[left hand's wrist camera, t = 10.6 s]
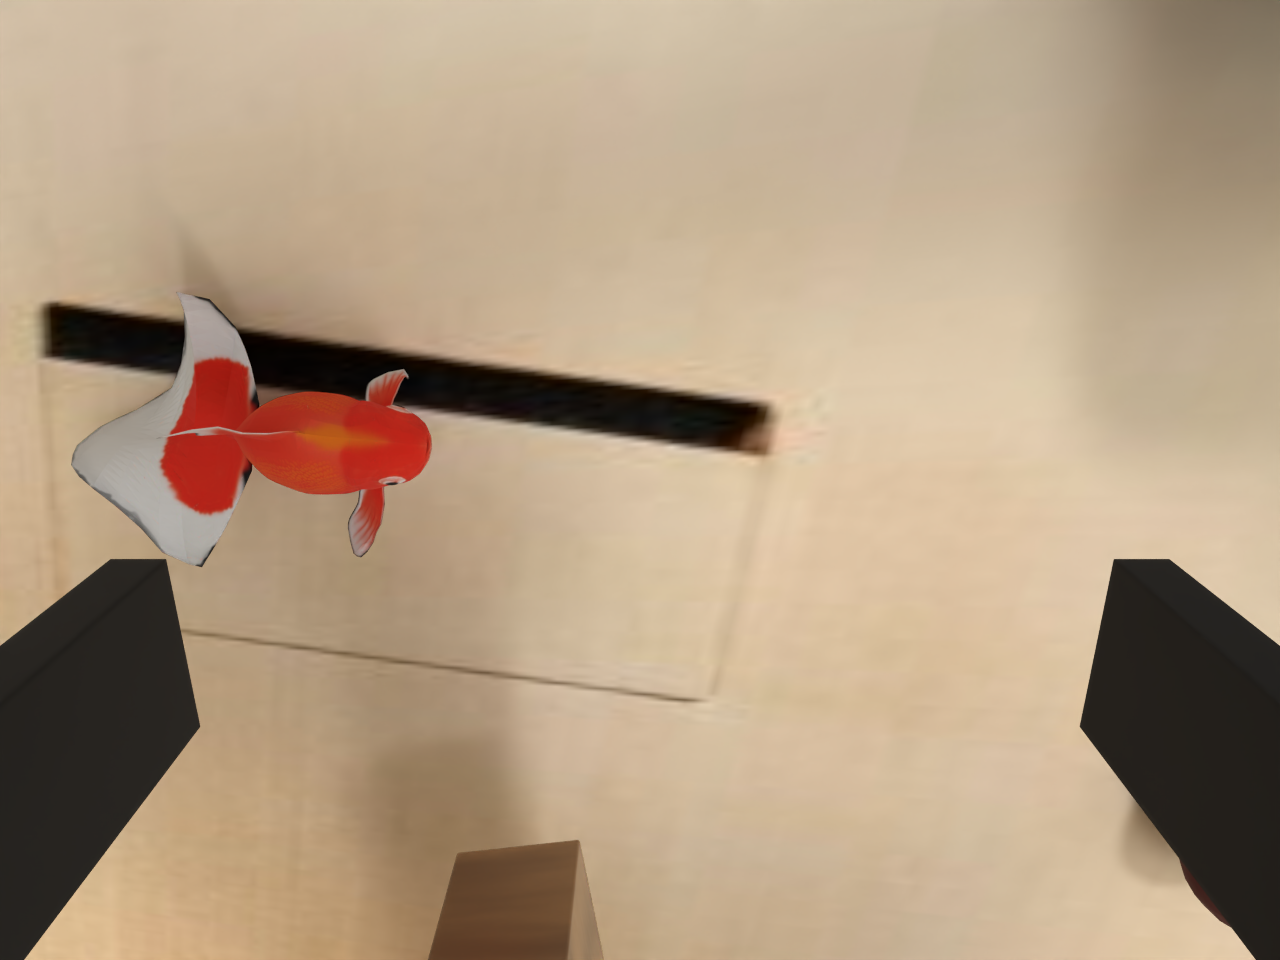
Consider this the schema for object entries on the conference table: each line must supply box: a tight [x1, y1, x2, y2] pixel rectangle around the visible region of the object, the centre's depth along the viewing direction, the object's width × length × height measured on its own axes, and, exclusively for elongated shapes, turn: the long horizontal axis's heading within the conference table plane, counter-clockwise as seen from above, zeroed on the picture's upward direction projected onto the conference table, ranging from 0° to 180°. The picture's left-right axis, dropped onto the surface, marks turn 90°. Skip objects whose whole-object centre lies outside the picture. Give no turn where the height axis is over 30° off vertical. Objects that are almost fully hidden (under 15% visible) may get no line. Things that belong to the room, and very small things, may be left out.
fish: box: [71, 292, 432, 567], centre depth 37 cm, size 11×16×10 cm
